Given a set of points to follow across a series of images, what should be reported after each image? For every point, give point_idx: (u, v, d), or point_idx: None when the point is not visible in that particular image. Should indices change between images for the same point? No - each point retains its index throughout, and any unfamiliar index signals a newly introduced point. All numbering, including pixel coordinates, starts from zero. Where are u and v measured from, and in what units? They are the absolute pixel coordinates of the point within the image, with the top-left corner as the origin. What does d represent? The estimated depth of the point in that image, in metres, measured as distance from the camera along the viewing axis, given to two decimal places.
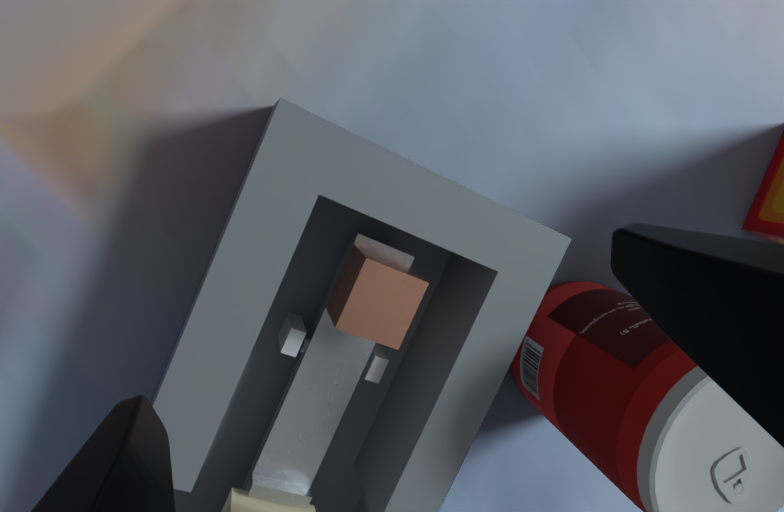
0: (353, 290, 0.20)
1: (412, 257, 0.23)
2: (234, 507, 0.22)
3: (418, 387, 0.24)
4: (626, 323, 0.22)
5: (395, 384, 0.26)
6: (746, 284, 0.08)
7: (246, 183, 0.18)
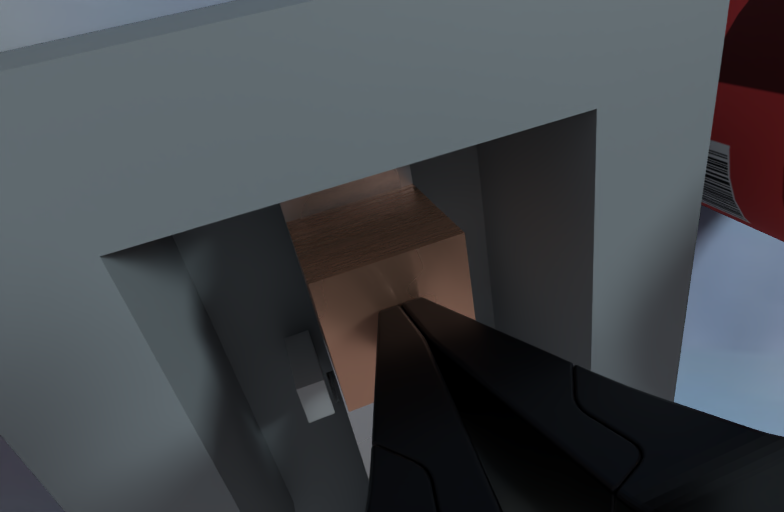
0: (332, 346, 0.09)
1: (405, 166, 0.11)
2: None
3: (541, 334, 0.14)
4: None
5: (501, 317, 0.16)
6: (474, 391, 0.07)
7: None
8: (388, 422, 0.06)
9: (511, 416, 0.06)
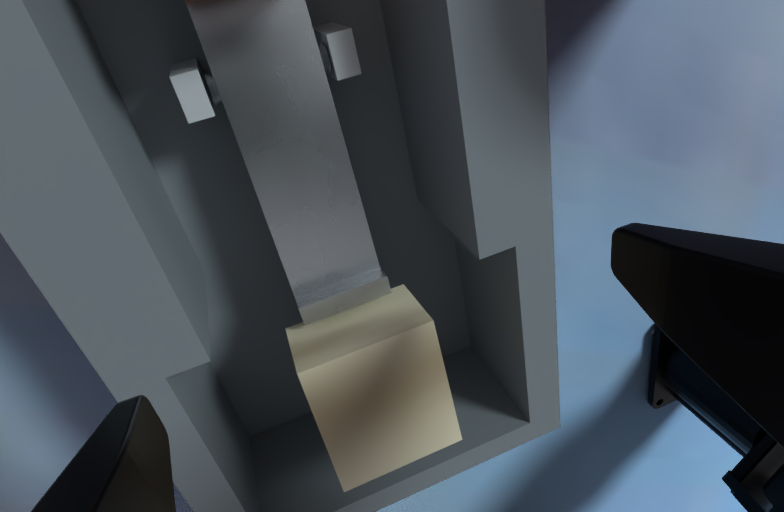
0: None
1: None
2: (296, 347, 0.15)
3: (419, 36, 0.14)
4: None
5: (397, 64, 0.16)
6: (746, 284, 0.08)
7: None
8: None
9: None
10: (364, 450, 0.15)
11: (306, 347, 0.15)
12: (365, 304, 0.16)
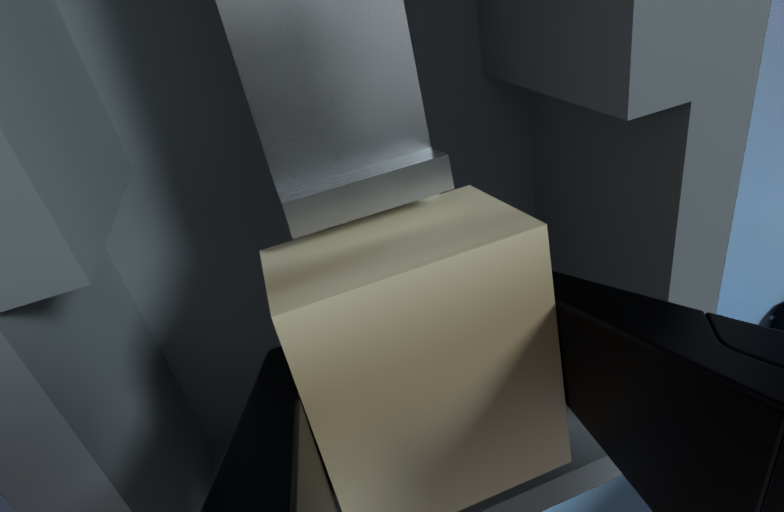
0: None
1: None
2: (275, 275, 0.08)
3: None
4: None
5: None
6: (603, 340, 0.07)
7: None
8: (223, 487, 0.06)
9: (653, 358, 0.06)
10: (399, 477, 0.08)
11: (295, 275, 0.08)
12: (404, 212, 0.09)
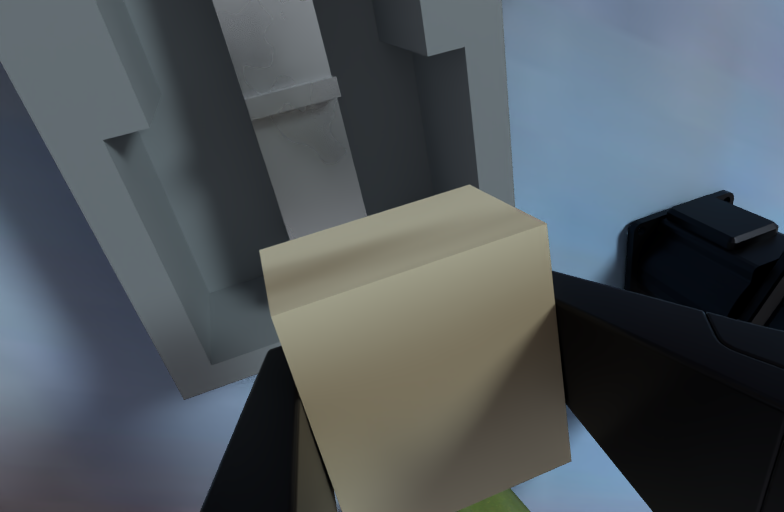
0: None
1: None
2: (274, 275, 0.08)
3: None
4: None
5: None
6: (603, 341, 0.07)
7: None
8: (223, 487, 0.06)
9: (653, 358, 0.06)
10: (399, 476, 0.08)
11: (294, 275, 0.08)
12: (404, 212, 0.09)
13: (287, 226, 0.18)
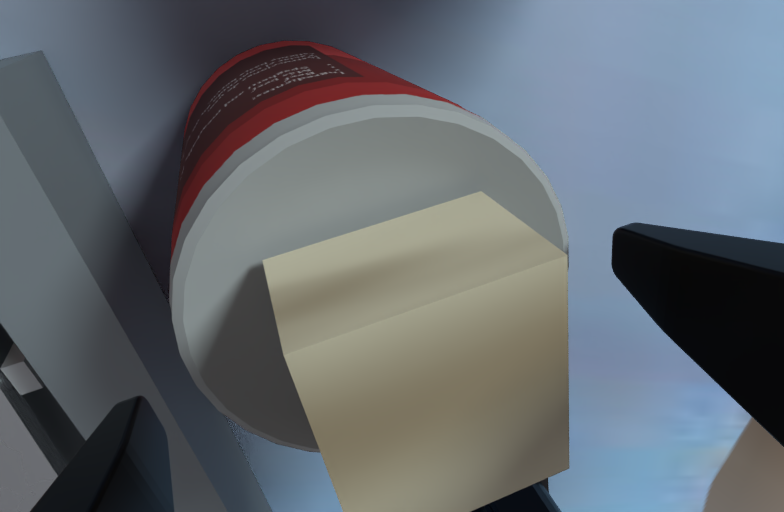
0: None
1: None
2: (282, 296, 0.08)
3: None
4: (188, 150, 0.12)
5: None
6: (747, 284, 0.08)
7: None
8: None
9: None
10: (405, 491, 0.08)
11: (304, 299, 0.07)
12: (414, 222, 0.09)
13: None
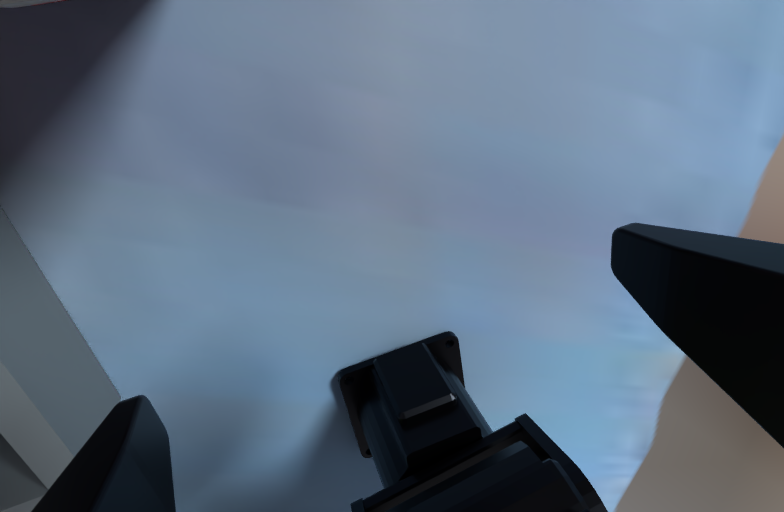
0: None
1: None
2: None
3: None
4: None
5: None
6: (746, 284, 0.08)
7: None
8: None
9: None
10: None
11: None
12: None
13: None
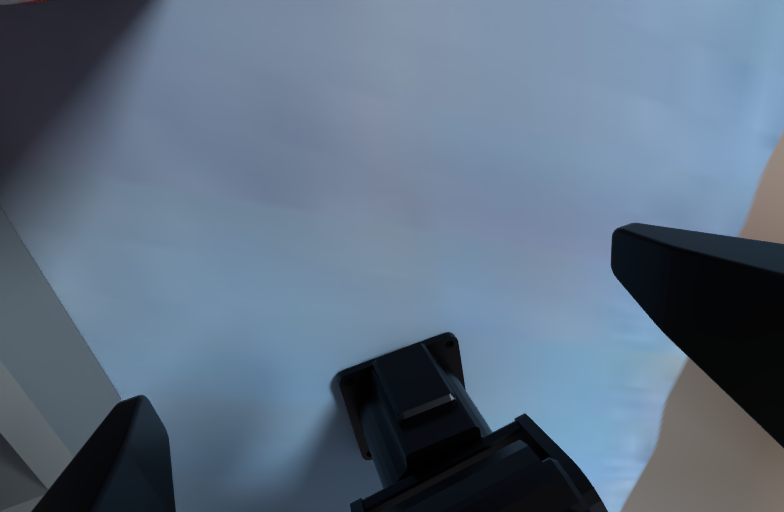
0: None
1: None
2: None
3: None
4: None
5: None
6: (746, 284, 0.08)
7: None
8: None
9: None
10: None
11: None
12: None
13: None
